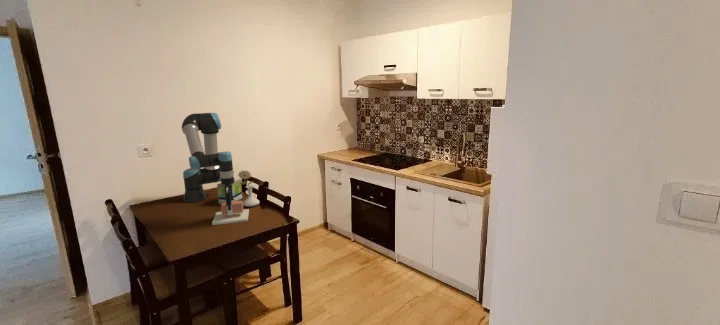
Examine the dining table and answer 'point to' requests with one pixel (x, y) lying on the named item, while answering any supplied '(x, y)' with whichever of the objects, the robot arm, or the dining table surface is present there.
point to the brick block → (236, 207)
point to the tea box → (235, 190)
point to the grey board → (230, 217)
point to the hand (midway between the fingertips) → (231, 212)
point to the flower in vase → (250, 200)
